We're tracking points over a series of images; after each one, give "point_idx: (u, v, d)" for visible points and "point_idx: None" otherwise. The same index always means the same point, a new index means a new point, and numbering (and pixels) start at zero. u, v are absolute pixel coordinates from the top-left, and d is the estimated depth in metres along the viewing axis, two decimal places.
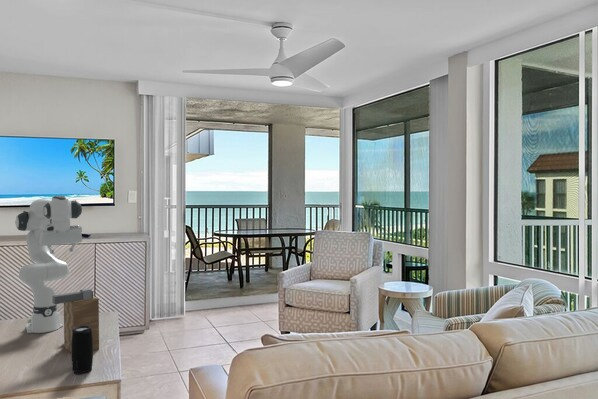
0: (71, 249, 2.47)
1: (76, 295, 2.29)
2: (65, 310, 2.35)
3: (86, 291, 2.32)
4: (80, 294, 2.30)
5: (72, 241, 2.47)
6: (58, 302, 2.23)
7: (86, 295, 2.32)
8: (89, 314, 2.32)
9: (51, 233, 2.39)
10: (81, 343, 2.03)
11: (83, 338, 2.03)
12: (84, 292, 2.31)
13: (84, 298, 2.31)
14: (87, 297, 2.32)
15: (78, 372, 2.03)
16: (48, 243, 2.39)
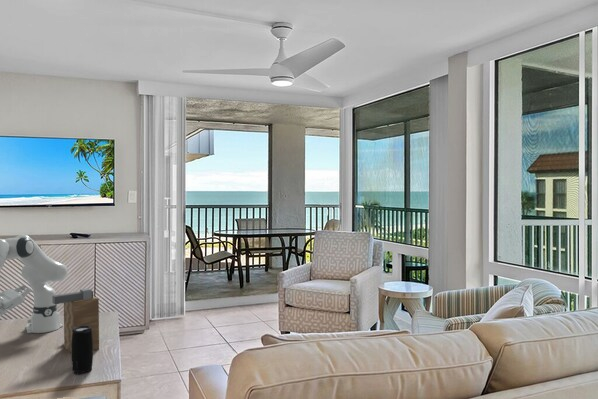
0: None
1: (76, 295, 2.29)
2: (65, 310, 2.35)
3: (86, 291, 2.32)
4: (80, 294, 2.30)
5: None
6: (58, 302, 2.23)
7: (86, 295, 2.32)
8: (89, 314, 2.32)
9: None
10: (81, 343, 2.03)
11: (83, 338, 2.03)
12: (84, 292, 2.31)
13: (84, 298, 2.31)
14: (87, 297, 2.32)
15: (78, 372, 2.03)
16: None
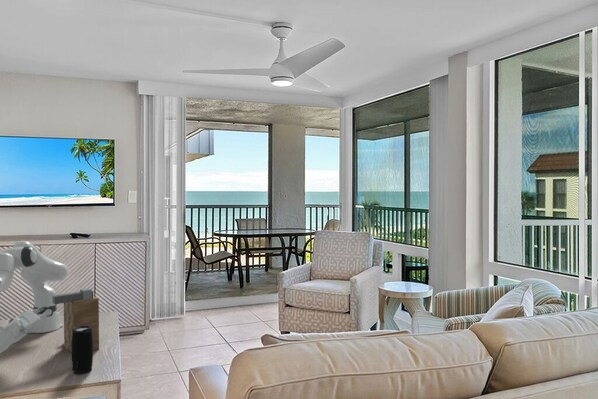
0: None
1: (76, 295, 2.29)
2: (65, 310, 2.35)
3: (86, 291, 2.32)
4: (80, 294, 2.30)
5: None
6: (58, 302, 2.23)
7: (86, 295, 2.32)
8: (89, 314, 2.32)
9: None
10: (81, 343, 2.03)
11: (83, 338, 2.03)
12: (84, 292, 2.31)
13: (84, 298, 2.31)
14: (87, 297, 2.32)
15: (78, 372, 2.03)
16: None
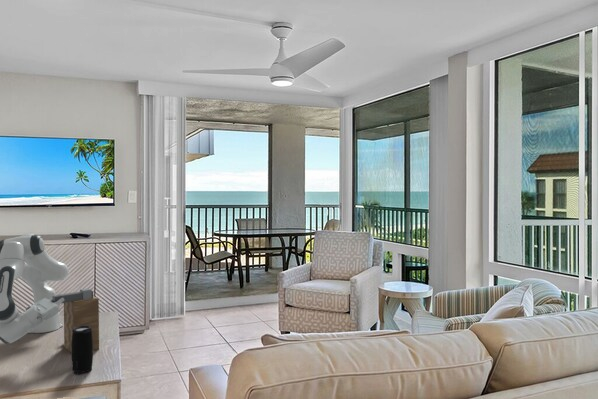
0: None
1: (76, 295, 2.29)
2: (65, 310, 2.35)
3: (86, 291, 2.31)
4: (80, 294, 2.30)
5: None
6: None
7: (86, 295, 2.32)
8: (89, 314, 2.32)
9: None
10: (81, 343, 2.03)
11: (83, 338, 2.03)
12: (84, 292, 2.31)
13: (84, 298, 2.31)
14: (87, 297, 2.32)
15: (78, 372, 2.03)
16: None
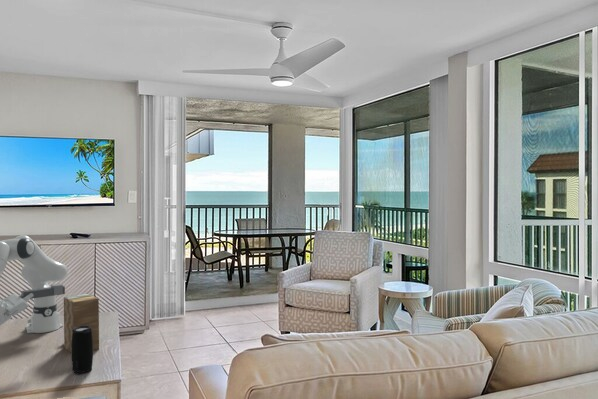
0: None
1: (46, 290, 2.22)
2: (65, 310, 2.35)
3: (57, 286, 2.24)
4: (51, 290, 2.23)
5: None
6: None
7: (57, 290, 2.24)
8: (89, 314, 2.32)
9: None
10: (81, 343, 2.03)
11: (83, 338, 2.03)
12: (55, 287, 2.24)
13: (55, 294, 2.24)
14: (58, 293, 2.25)
15: (78, 372, 2.03)
16: None
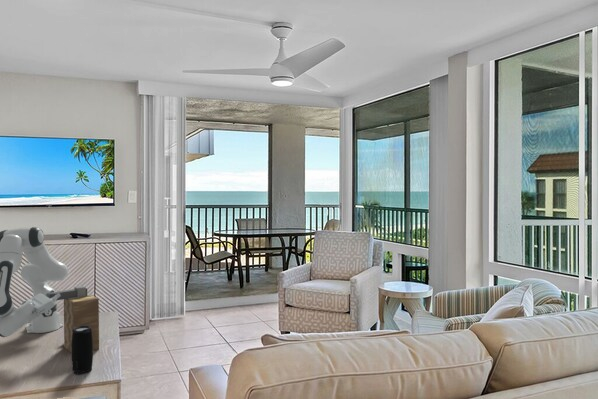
0: None
1: (70, 292, 2.34)
2: (65, 310, 2.35)
3: (80, 289, 2.37)
4: (74, 292, 2.36)
5: None
6: None
7: (80, 292, 2.37)
8: (89, 314, 2.32)
9: None
10: (81, 343, 2.03)
11: (83, 338, 2.03)
12: (78, 290, 2.37)
13: (78, 295, 2.37)
14: (81, 294, 2.38)
15: (78, 372, 2.03)
16: None
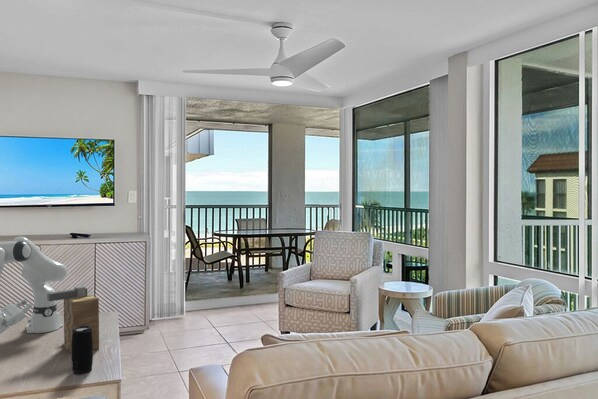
0: None
1: (70, 292, 2.34)
2: (65, 310, 2.35)
3: (80, 289, 2.37)
4: (74, 292, 2.36)
5: None
6: (53, 299, 2.29)
7: (80, 292, 2.37)
8: (89, 314, 2.32)
9: None
10: (81, 343, 2.03)
11: (83, 338, 2.03)
12: (78, 290, 2.37)
13: (78, 295, 2.37)
14: (81, 294, 2.38)
15: (78, 372, 2.03)
16: None
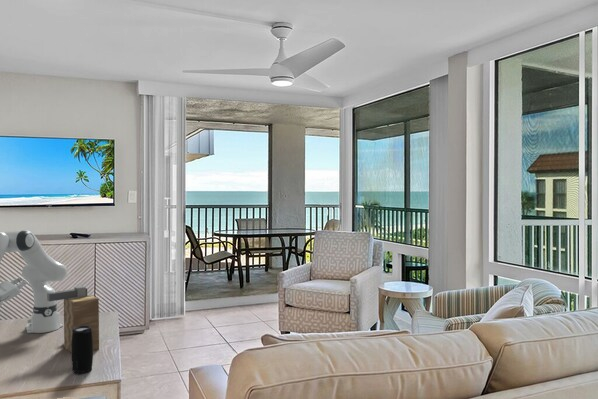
0: None
1: (70, 292, 2.34)
2: (65, 310, 2.35)
3: (80, 289, 2.37)
4: (74, 292, 2.36)
5: None
6: (53, 299, 2.29)
7: (80, 292, 2.37)
8: (89, 314, 2.32)
9: None
10: (81, 343, 2.03)
11: (83, 338, 2.03)
12: (78, 290, 2.37)
13: (78, 295, 2.37)
14: (81, 294, 2.38)
15: (78, 372, 2.03)
16: None
